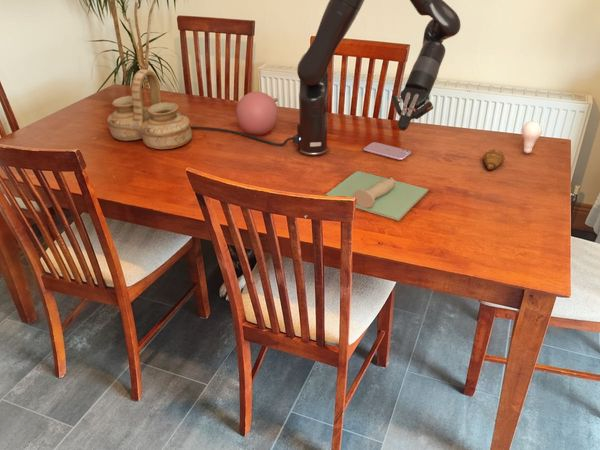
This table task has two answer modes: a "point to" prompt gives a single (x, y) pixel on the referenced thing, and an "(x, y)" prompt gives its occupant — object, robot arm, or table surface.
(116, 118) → the ceramic vessel
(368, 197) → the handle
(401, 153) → the mobile phone
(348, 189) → the mat
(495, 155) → the croissant
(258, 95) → the balloon
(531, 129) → the lightbulb
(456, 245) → the table surface
